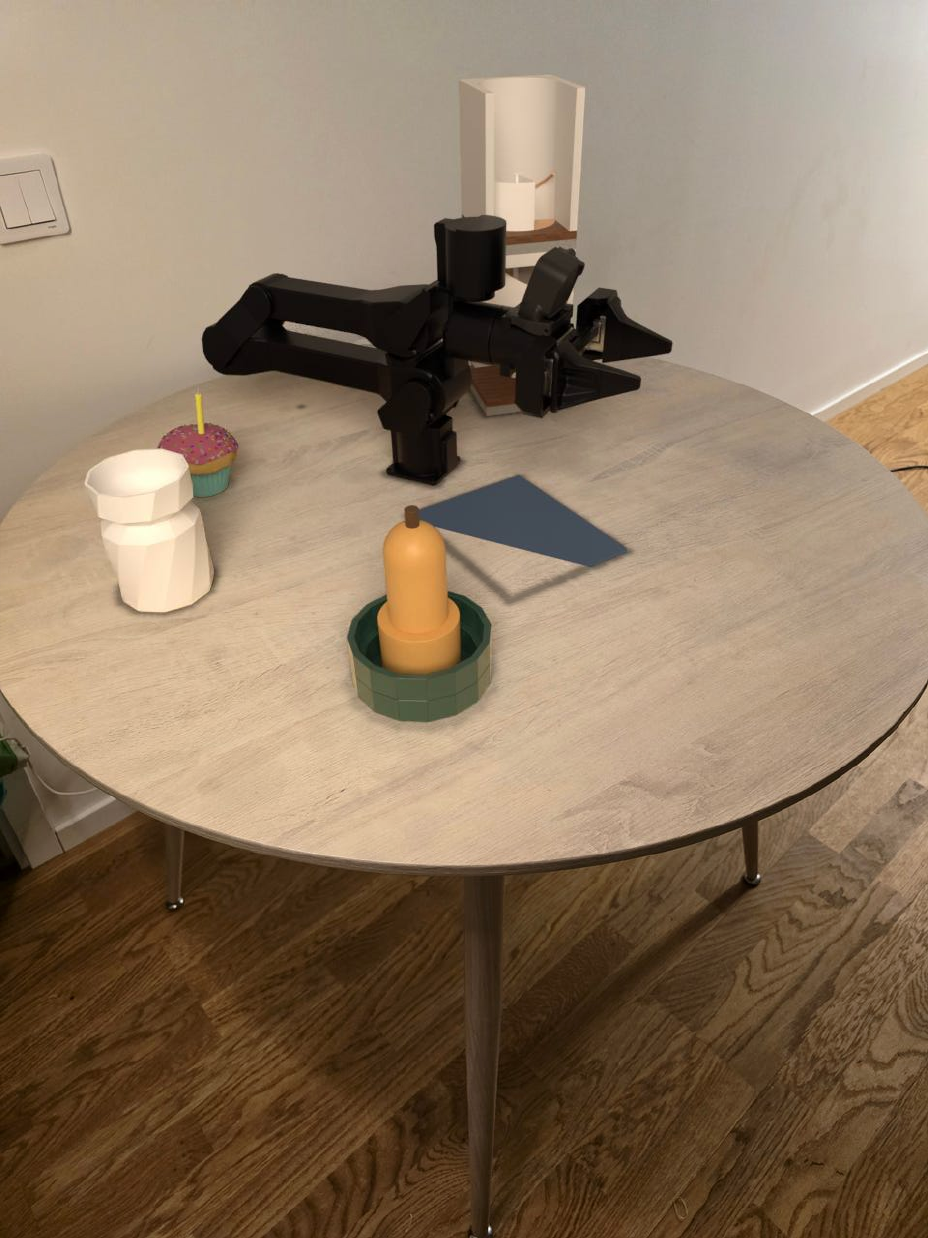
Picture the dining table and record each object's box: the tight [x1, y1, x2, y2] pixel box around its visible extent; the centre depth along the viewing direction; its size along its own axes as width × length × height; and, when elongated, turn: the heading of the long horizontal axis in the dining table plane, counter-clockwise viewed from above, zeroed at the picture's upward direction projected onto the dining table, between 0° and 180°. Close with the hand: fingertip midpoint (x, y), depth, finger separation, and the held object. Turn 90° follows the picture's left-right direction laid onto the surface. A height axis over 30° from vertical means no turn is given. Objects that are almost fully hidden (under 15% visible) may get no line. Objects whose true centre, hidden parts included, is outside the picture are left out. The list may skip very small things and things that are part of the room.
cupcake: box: [156, 386, 239, 498], centre depth 92 cm, size 9×8×12 cm
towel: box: [419, 474, 628, 568], centre depth 87 cm, size 18×14×1 cm
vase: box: [83, 448, 215, 613], centre depth 78 cm, size 9×9×12 cm
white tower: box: [458, 73, 586, 417], centre depth 103 cm, size 11×11×35 cm
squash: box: [377, 504, 461, 674], centre depth 66 cm, size 6×6×16 cm
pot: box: [346, 590, 493, 723], centre depth 69 cm, size 11×11×5 cm
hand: (656, 364), depth 79 cm, fingers open, 9 cm apart
